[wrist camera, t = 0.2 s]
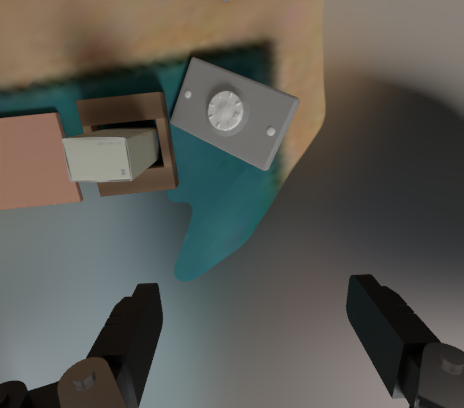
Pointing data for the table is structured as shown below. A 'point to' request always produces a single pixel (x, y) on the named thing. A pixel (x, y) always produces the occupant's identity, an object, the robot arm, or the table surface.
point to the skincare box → (111, 154)
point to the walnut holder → (128, 111)
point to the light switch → (233, 112)
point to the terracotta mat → (34, 163)
